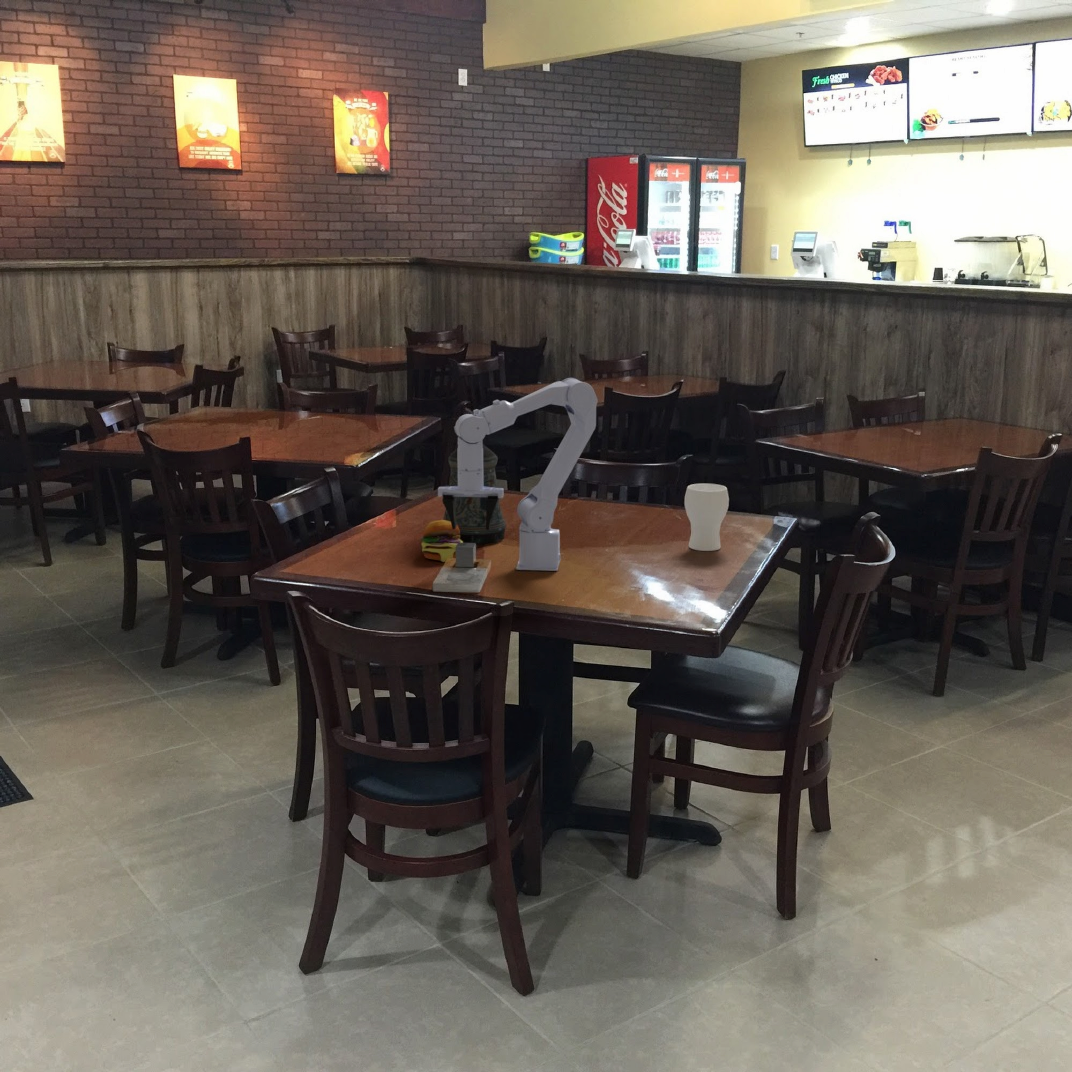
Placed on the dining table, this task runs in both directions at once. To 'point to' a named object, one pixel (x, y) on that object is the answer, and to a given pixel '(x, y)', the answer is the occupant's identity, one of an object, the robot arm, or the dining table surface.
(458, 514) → the beer stein
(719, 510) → the cup
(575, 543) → the dining table surface
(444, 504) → the robot arm
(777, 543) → the dining table surface
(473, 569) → the grey flat rectangular block
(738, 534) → the dining table surface
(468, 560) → the block
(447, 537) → the cheeseburger
